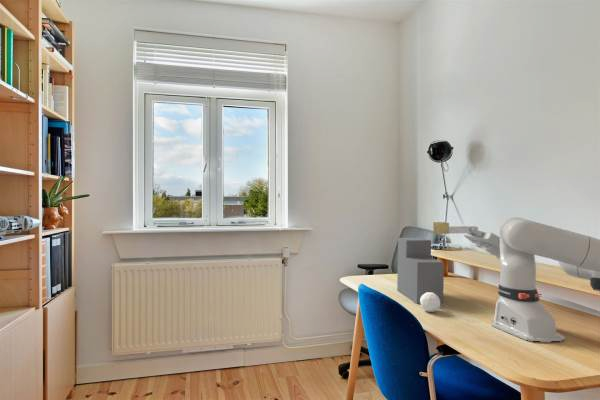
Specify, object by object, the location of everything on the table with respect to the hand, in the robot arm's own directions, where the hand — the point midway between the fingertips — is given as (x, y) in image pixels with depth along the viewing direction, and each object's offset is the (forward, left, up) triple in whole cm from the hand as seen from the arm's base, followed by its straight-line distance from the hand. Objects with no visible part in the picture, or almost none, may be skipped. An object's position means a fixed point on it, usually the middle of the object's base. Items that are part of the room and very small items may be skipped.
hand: (468, 228), depth 169 cm
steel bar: (0, +6, -2) cm, 7 cm away
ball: (-21, +29, -32) cm, 48 cm away
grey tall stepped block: (0, +24, -32) cm, 40 cm away
